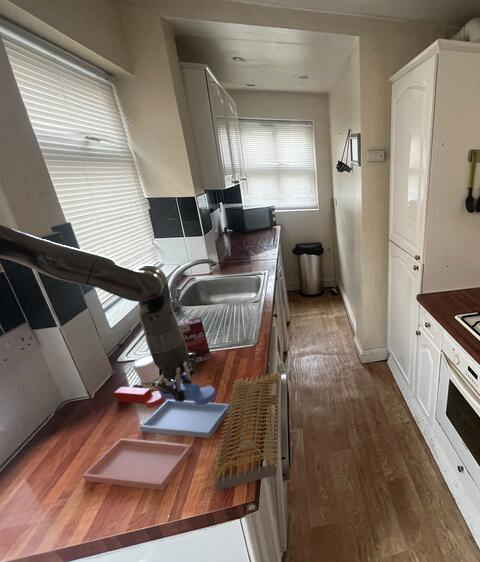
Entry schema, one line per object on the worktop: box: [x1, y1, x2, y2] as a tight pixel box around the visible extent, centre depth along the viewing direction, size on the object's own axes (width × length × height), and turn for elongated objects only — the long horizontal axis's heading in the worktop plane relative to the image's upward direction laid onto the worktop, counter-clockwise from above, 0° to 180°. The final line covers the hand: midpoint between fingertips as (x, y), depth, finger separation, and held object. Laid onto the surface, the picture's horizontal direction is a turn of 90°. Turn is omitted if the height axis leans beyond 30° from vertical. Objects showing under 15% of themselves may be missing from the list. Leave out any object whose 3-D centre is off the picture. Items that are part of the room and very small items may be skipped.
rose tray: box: [81, 437, 194, 491], centre depth 74 cm, size 20×10×2 cm, turn 83°
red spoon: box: [113, 386, 166, 408], centre depth 95 cm, size 15×5×4 cm, turn 83°
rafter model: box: [209, 370, 281, 491], centre depth 84 cm, size 35×14×6 cm, turn 15°
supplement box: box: [177, 316, 212, 364], centre depth 111 cm, size 9×5×16 cm, turn 123°
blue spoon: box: [158, 382, 217, 405], centre depth 83 cm, size 15×5×4 cm, turn 83°
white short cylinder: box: [131, 354, 160, 384], centre depth 104 cm, size 7×7×7 cm
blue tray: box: [139, 399, 231, 439], centre depth 87 cm, size 20×10×2 cm, turn 83°
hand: (185, 396), depth 84 cm, fingers closed on blue spoon, 2 cm apart
